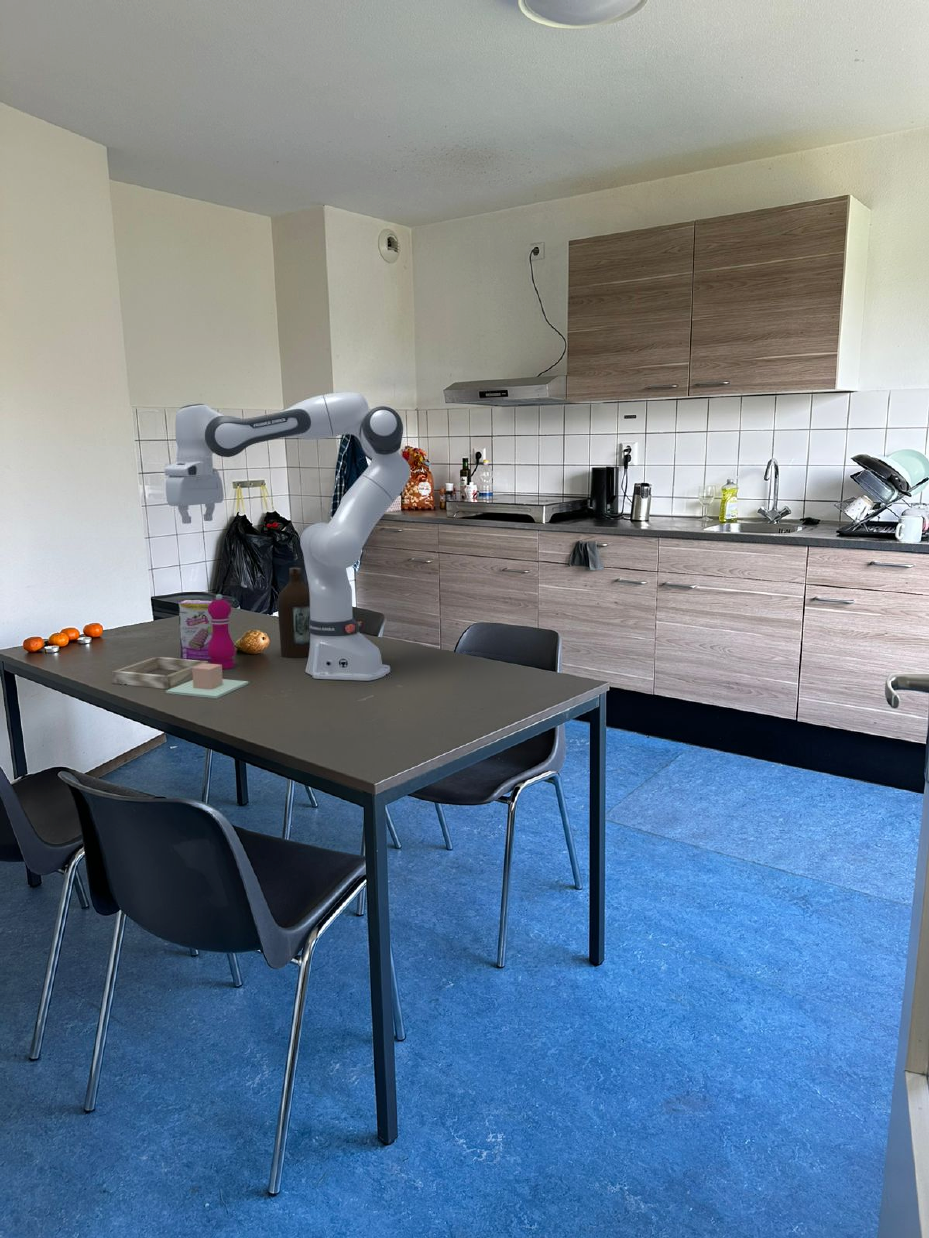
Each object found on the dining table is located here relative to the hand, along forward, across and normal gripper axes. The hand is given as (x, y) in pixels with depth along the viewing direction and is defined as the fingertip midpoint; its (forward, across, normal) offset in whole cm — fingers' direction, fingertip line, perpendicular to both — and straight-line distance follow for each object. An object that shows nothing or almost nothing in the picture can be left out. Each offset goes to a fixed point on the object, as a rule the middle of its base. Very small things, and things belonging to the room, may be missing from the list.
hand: (197, 522), depth 226 cm
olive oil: (+39, -22, +16) cm, 48 cm away
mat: (+39, +18, +13) cm, 45 cm away
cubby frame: (+39, +13, -4) cm, 41 cm away
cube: (+38, +18, +13) cm, 44 cm away
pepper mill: (+39, -2, +4) cm, 40 cm away
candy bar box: (+39, -8, -6) cm, 41 cm away
